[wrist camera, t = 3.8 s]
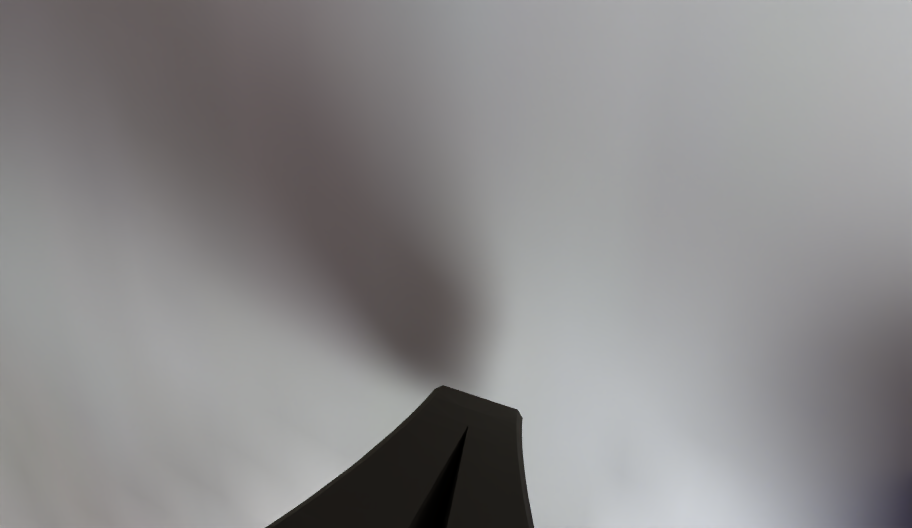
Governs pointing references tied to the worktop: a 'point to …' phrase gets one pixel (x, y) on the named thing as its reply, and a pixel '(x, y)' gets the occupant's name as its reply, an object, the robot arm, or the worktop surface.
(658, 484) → the worktop surface
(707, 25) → the worktop surface
